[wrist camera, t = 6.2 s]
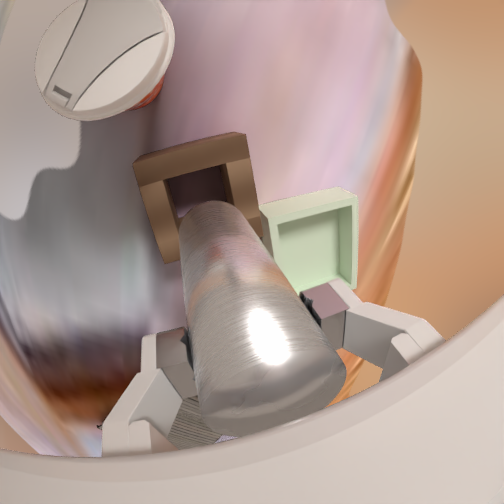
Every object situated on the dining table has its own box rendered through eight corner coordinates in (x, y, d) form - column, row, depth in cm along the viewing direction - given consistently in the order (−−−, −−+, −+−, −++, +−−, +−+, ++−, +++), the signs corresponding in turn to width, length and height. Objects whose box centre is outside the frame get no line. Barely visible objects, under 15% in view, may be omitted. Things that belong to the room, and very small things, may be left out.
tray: (256, 205, 29) (268, 218, 26) (338, 186, 31) (357, 196, 27) (271, 295, 35) (282, 314, 32) (340, 272, 37) (356, 288, 33)
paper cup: (142, 135, 23) (108, 149, 11) (81, 98, 19) (3, 87, 7) (192, 68, 21) (211, 18, 9) (130, 32, 18) (96, -36, 6)
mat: (96, 417, 39) (94, 437, 35) (170, 363, 37) (172, 389, 33) (184, 449, 51) (187, 466, 47) (263, 408, 49) (270, 427, 45)
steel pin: (170, 211, 15) (177, 385, 5) (240, 192, 15) (352, 328, 6) (189, 272, 17) (223, 447, 7) (252, 254, 17) (340, 407, 8)
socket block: (139, 156, 24) (132, 164, 19) (233, 131, 25) (245, 134, 21) (165, 241, 28) (164, 264, 24) (249, 217, 30) (263, 236, 25)
